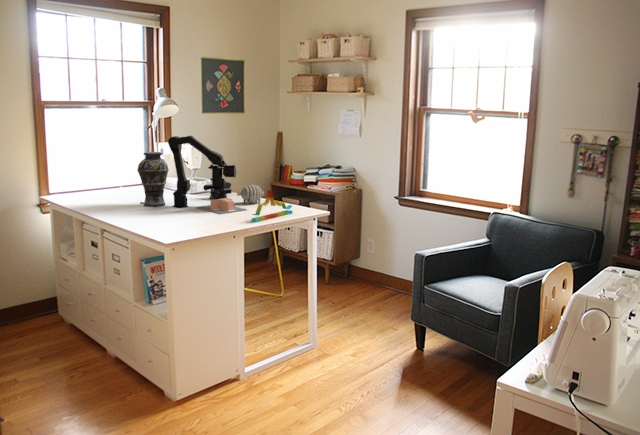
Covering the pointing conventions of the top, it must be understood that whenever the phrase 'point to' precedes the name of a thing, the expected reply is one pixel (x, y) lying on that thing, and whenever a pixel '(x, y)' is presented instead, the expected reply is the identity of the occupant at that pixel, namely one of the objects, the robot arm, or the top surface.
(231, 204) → the t block
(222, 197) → the phone stand
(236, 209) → the mat
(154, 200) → the vase
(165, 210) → the top surface
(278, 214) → the multicoloured triangular frame
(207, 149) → the robot arm
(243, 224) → the top surface
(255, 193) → the toy sheep
